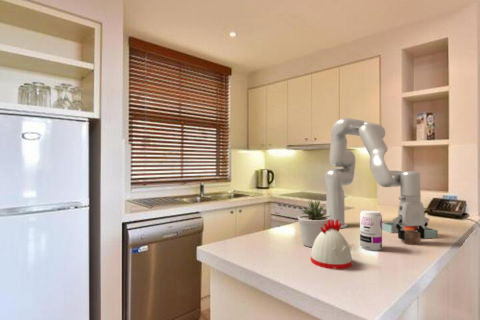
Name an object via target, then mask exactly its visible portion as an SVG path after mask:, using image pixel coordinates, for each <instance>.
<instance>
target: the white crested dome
mask: <svg viewBox="0 0 480 320" xmlns="http://www.w3.org/2000/svg"><path fill="white" fill-rule="evenodd" d="M341 224H342V223H339V225H338V220H336V221H335V225H334V220H331V223H330V220H328V222H327V225H326V223H324V227H325V229H323V228H322V227H321V226H320V228H321V230H322V232H321V233H320V234H319V235H318V236H317V238H316V239H315V241H314V244H313V247H311V252H310V261H311V263H312V264H313V265H315V266H318V267H320V268H324V269H330V270H344V269H349V268H351V267H352V265H353V256H352V253H351V250H350V247H349V244H348V242H347V240H346V238H345V237H344V235H342V233H341V232H340V230H341V228H340V227H341Z"/></svg>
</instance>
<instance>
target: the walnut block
mask: <svg viewBox="0 0 480 320" xmlns="http://www.w3.org/2000/svg"><path fill="white" fill-rule="evenodd" d="M404 231H405V240H402V239H400V241H401V242H403V243H405V244H407V245H409V246H410V245H411V246H412V245H421V239H420V232H416V231H413V230H404Z"/></svg>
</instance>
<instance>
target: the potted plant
mask: <svg viewBox="0 0 480 320" xmlns="http://www.w3.org/2000/svg"><path fill="white" fill-rule="evenodd" d="M314 200H315V201H313V199H312V198H310V201H307V204H308V205H309V206H308V207H310V209H302V210H299V212H301V213H302V214H303V215H300V216H298V217H297V220H298V223H299V231H300V236H301V241H302V245H303V246H306V247H308V248H312V247H313V244H314V241H315V239H316V238H317V236H318V235H319V234H320V233H321V232H322V230H321V228H320V226H321V227H322V228H323V229H325V227H324V223H326V225H327V222H328V220H329V219H328V218H327V217H329V216H327V212H323V213H322V211H323V209H324V206H325V205H326V203H324V204H323V205H321V204H320V203H321V201H320V200H319V199H314ZM325 215H326V216H325ZM330 216H331V215H330Z"/></svg>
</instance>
